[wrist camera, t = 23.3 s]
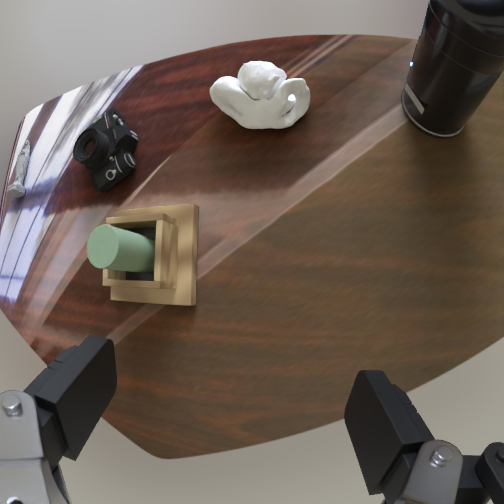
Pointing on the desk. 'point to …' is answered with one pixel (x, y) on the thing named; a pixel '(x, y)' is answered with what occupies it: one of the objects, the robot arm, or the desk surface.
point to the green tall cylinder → (121, 250)
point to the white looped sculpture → (261, 96)
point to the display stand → (159, 256)
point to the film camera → (106, 150)
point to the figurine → (20, 172)
